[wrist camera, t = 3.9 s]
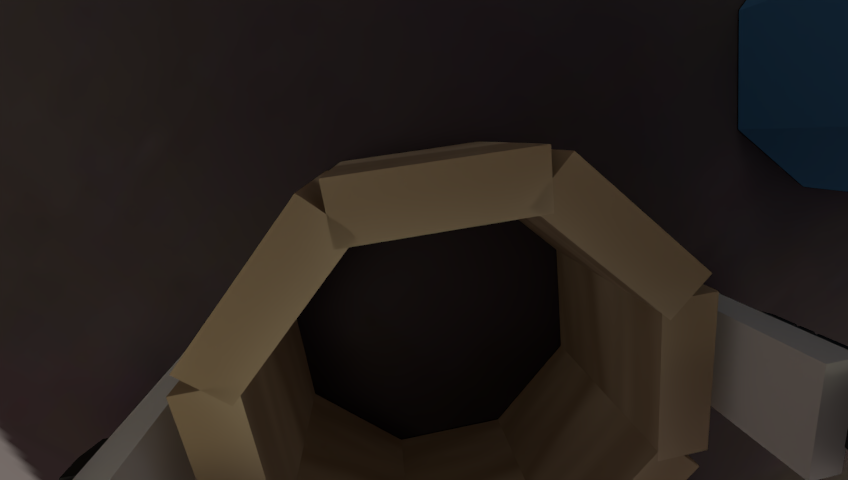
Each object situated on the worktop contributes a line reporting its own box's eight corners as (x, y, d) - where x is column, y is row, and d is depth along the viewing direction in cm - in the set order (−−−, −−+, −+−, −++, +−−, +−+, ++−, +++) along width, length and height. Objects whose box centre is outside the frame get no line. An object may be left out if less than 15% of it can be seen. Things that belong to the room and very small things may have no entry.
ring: (214, 179, 11) (97, 211, 6) (590, 125, 12) (731, 116, 7) (301, 491, 14) (266, 670, 9) (596, 426, 15) (699, 558, 10)
